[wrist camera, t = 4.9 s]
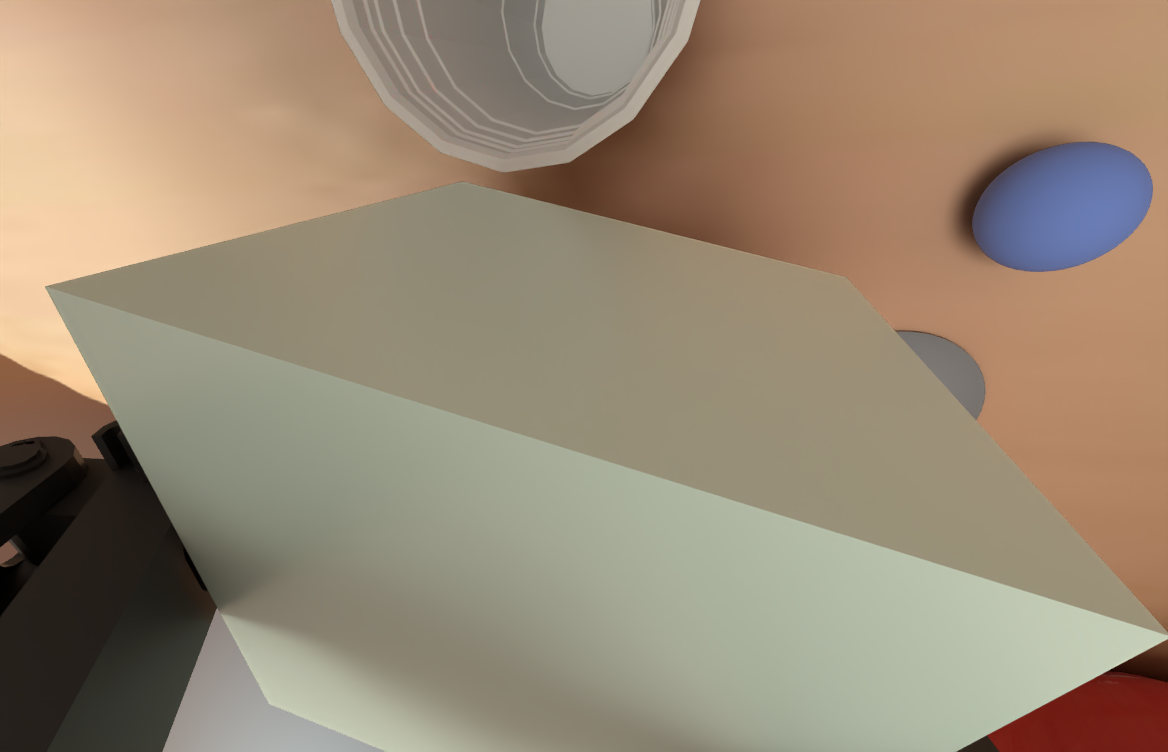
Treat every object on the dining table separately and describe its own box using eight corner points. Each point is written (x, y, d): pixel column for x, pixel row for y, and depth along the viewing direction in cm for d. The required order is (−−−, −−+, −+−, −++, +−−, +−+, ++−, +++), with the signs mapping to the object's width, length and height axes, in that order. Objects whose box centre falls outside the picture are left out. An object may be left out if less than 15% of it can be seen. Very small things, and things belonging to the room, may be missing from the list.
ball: (994, 130, 19) (1076, 132, 15) (1120, 151, 18) (1243, 160, 14) (928, 242, 22) (982, 271, 17) (1036, 264, 21) (1118, 300, 17)
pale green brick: (462, 181, 12) (44, 286, 4) (846, 276, 11) (1169, 636, 3) (455, 453, 17) (269, 703, 10) (707, 534, 16) (709, 882, 9)
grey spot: (835, 312, 24) (836, 313, 24) (1027, 355, 23) (1029, 357, 23) (768, 443, 30) (768, 445, 29) (920, 484, 28) (921, 486, 28)
